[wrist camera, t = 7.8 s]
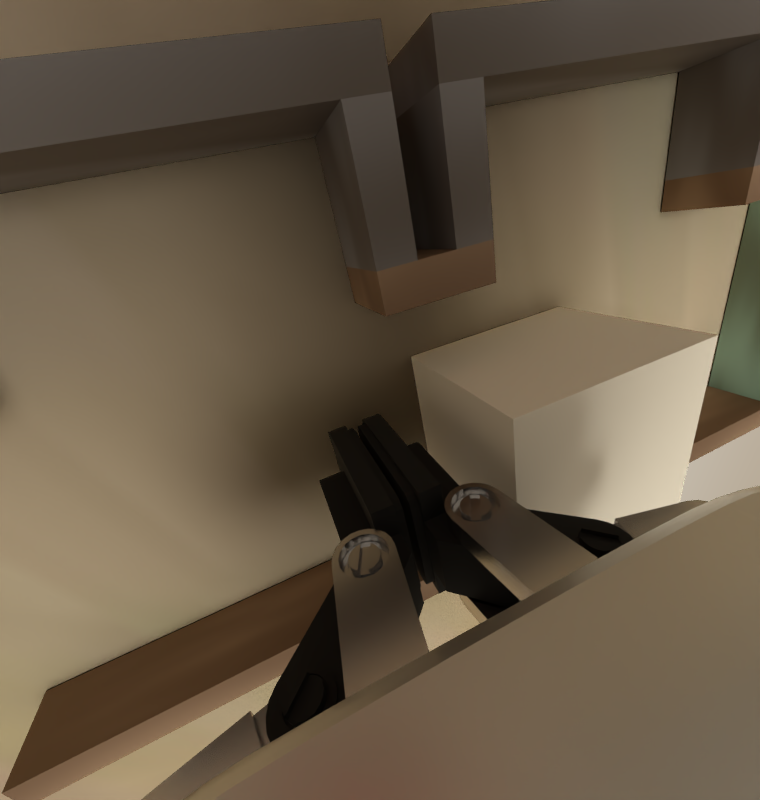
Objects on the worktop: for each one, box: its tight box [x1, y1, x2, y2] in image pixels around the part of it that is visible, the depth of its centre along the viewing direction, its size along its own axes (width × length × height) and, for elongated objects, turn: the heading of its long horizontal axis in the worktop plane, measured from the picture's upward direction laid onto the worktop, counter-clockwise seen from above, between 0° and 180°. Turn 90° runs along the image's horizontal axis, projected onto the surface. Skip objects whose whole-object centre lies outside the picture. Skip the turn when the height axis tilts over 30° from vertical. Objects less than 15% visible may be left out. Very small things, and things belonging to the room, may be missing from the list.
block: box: [411, 307, 718, 524], centre depth 12 cm, size 6×6×5 cm
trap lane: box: [0, 0, 760, 800], centre depth 11 cm, size 15×31×2 cm, turn 103°
